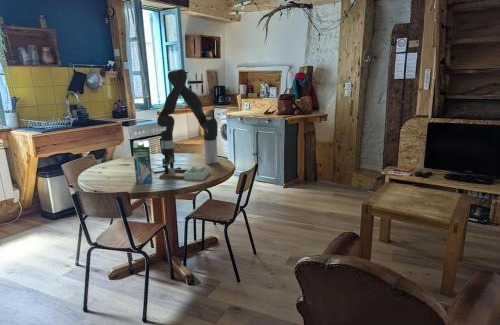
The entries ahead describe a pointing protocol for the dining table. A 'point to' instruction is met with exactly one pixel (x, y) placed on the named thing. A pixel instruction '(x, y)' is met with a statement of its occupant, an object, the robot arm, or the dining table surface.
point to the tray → (178, 175)
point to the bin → (196, 174)
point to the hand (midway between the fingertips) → (169, 171)
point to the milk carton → (142, 162)
